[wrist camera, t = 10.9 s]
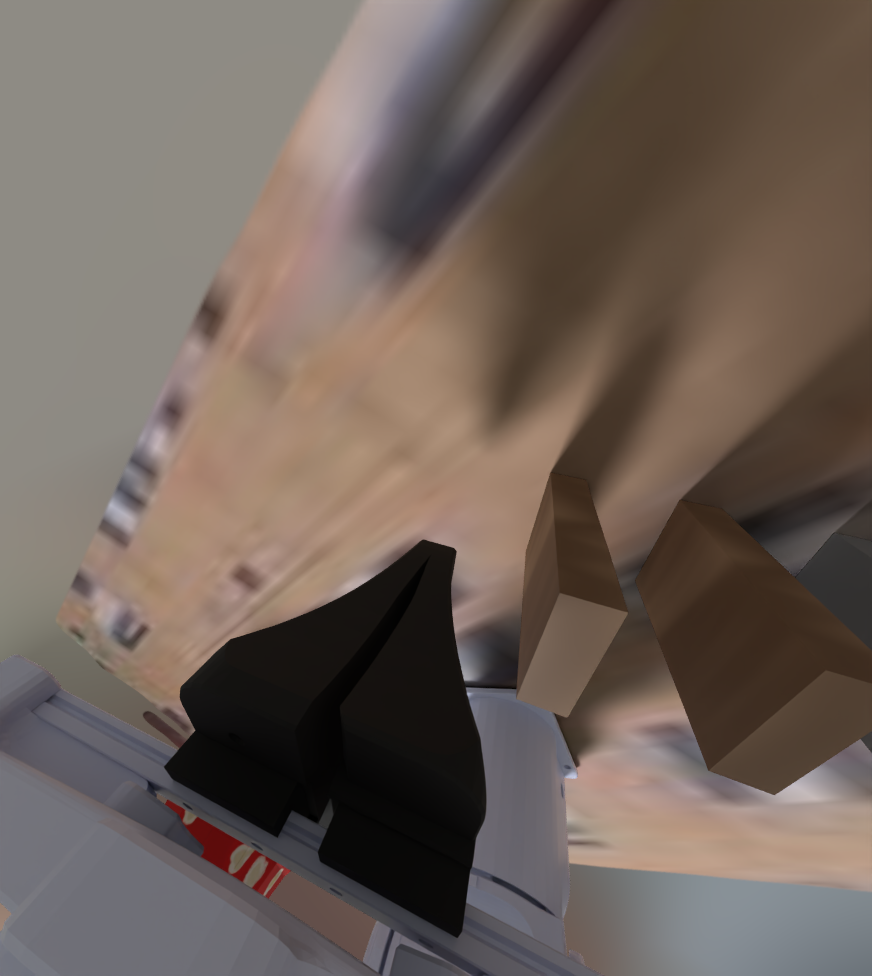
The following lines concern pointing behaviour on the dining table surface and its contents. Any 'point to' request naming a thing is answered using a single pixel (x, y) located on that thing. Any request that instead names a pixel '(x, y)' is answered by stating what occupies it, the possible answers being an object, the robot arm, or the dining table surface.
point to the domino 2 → (752, 653)
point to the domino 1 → (566, 599)
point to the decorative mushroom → (233, 854)
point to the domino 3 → (844, 586)
